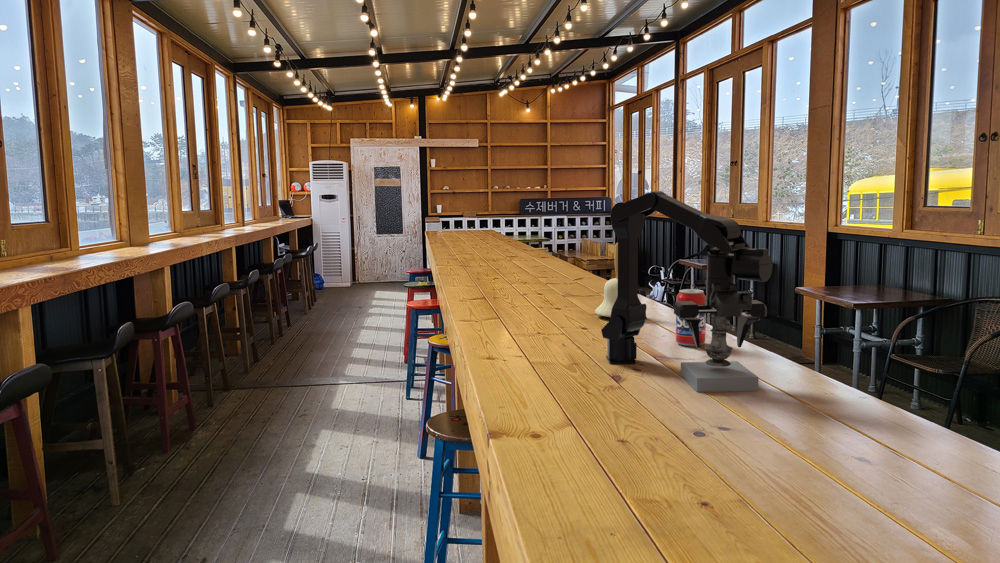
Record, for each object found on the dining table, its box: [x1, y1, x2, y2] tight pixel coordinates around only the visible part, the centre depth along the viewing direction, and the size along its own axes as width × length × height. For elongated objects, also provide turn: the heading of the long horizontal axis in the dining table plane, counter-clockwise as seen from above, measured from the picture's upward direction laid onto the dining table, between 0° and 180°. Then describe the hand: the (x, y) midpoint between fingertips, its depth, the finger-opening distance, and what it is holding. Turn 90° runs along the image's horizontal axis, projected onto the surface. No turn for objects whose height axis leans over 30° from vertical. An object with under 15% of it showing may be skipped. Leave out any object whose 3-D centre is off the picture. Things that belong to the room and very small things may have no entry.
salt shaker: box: [704, 313, 734, 367], centre depth 147 cm, size 6×6×12 cm
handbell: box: [594, 242, 618, 318], centre depth 222 cm, size 15×15×25 cm
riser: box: [680, 360, 760, 393], centre depth 149 cm, size 13×13×3 cm
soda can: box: [675, 288, 707, 348], centre depth 183 cm, size 8×8×15 cm
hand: (718, 347), depth 148 cm, fingers open, 9 cm apart
